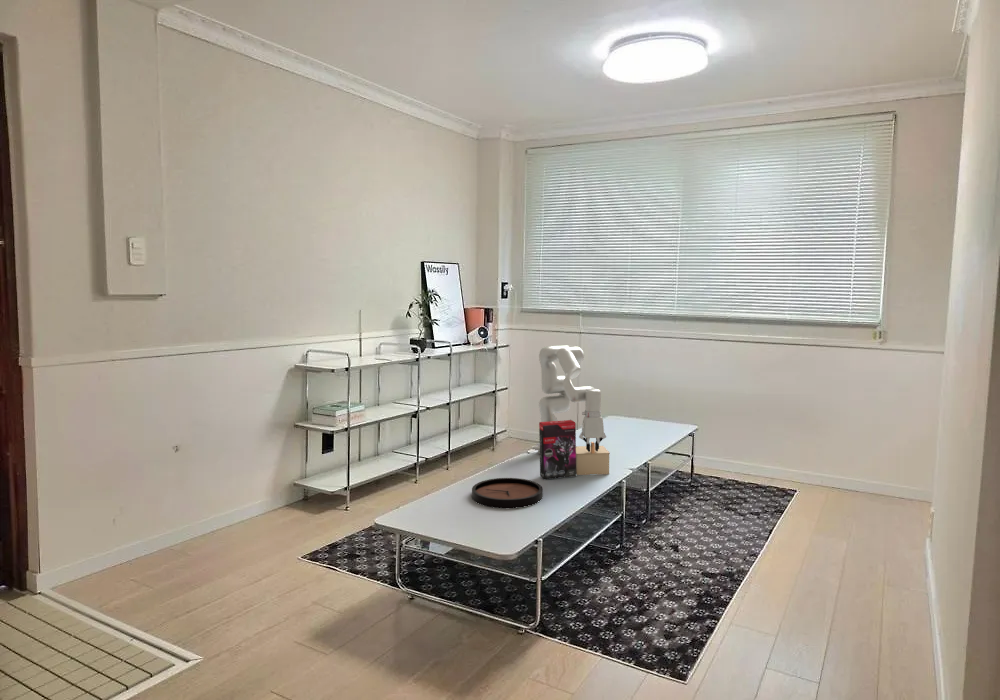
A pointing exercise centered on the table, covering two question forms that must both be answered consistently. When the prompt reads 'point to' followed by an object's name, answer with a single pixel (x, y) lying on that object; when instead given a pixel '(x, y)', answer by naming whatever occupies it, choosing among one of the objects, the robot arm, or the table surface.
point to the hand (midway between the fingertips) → (592, 450)
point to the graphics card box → (557, 449)
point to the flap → (591, 450)
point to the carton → (592, 464)
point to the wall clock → (507, 492)
